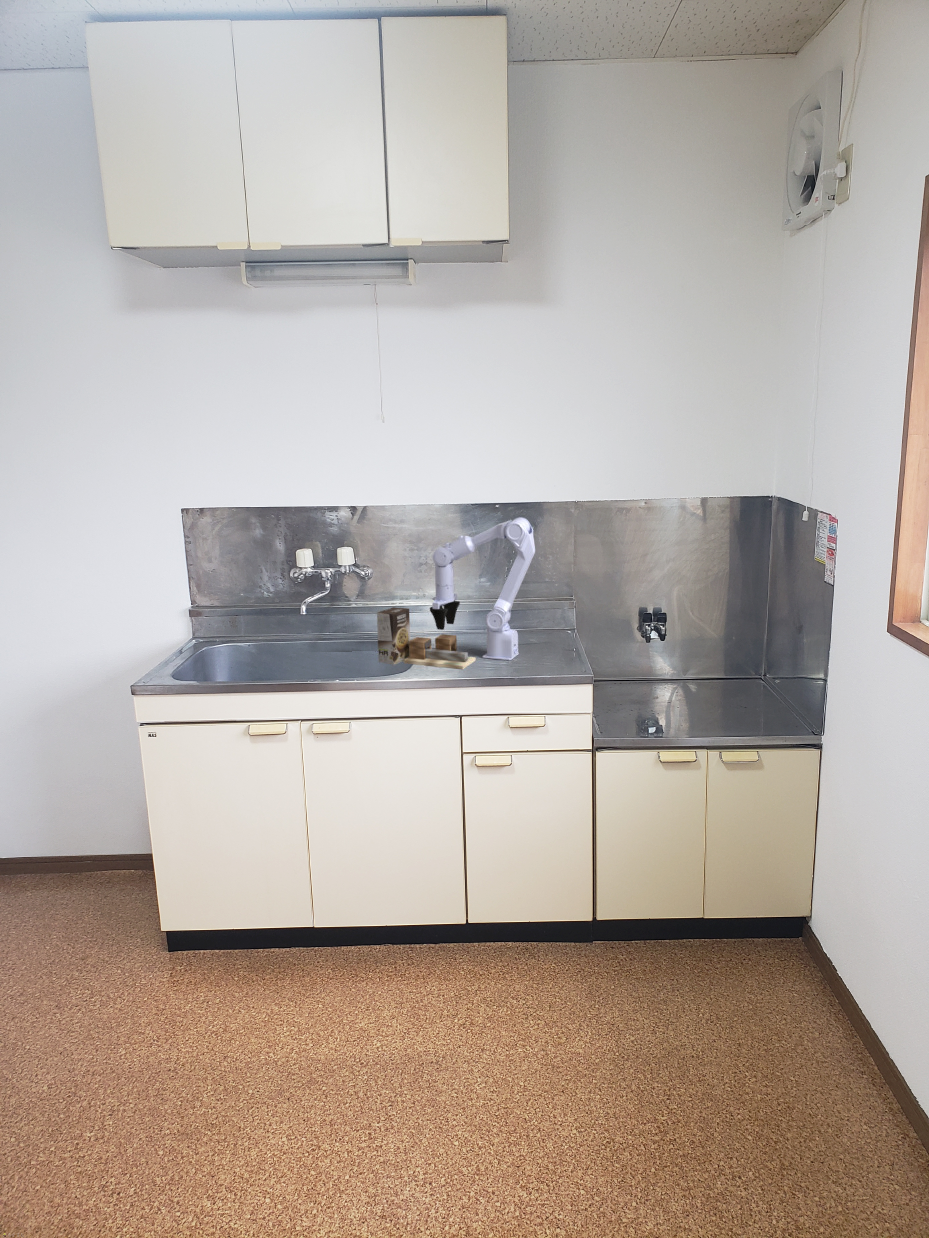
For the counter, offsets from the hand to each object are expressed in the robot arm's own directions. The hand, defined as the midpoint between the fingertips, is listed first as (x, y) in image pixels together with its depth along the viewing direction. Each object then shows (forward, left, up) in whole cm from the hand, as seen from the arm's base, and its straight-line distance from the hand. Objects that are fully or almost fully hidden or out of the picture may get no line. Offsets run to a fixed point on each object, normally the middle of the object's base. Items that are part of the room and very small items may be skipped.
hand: (445, 626), depth 282 cm
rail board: (-2, +9, -9) cm, 13 cm away
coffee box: (+12, +12, -9) cm, 20 cm away
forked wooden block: (0, 0, -9) cm, 9 cm away
